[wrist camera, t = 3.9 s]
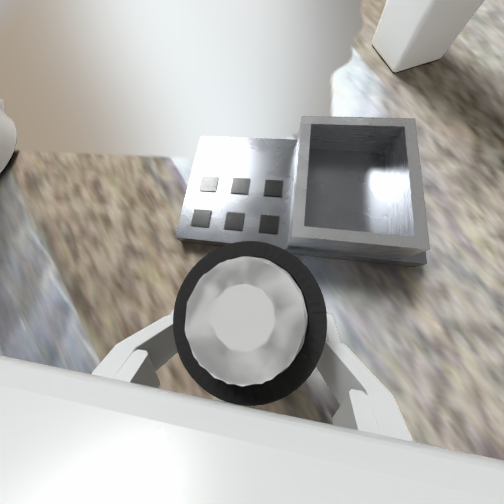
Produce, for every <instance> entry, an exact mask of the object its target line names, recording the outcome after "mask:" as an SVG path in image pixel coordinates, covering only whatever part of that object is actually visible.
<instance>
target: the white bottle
mask: <svg viewBox="0 0 504 504" xmlns="http://www.w3.org/2000/svg"><path fill="white" fill-rule="evenodd" d="M483 1H484V0H387V2H386V5H385V7H384V10H383V13H382V16H381V18H380V21H379V24H378V27H377V29H376V32H375V35H374V37H373V40H372V45H373V46H374V48H375V49H376V50H377V52H378V53H379V54H380V55H381V57H382V58H383V59H384V61H385V62H386V63H387V65H388V66H389V67H390V68H391V70H392V71H393V72H399V71H402V70H405V69H408V68H412V67H415V66H418V65H421V64H424V63H428V62H431V61H434V60H437V59H440V58H441V57H442V56H443V55H444V53H445V52H446V51H447V49H448V48H449V47H450V45H451V44H452V43H453V41H454V40H455V39H456V37H457V36H458V35H459V33H460V32H461V31H462V29H463V28H464V27H465V25H466V24H467V23H468V21H469V20H470V19H471V17H472V16H473V15H474V13H475V12H476V11H477V9H478V8H479V7H480V5H481V4H482V3H483Z"/></svg>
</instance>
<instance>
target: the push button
mask: <svg viewBox="0 0 504 504" xmlns="http://www.w3.org/2000/svg"><path fill="white" fill-rule="evenodd" d="M173 333H174V339H175V344H176V348H177V351H178V354H179V356H180V359H181V361H182V363H183V365H184V366H185V368H186V370H187V371H188V373H189V374H190V375H191V377H192V378H193V379H194V380H195V381H196V382H197V383H198V384H199V385H200V386H201V387H202V388H203V389H204V390H206V391H207V392H209V393H210V394H211V395H213V396H215V397H217V398H219V399H221V400H224V401H226V402H229V403H233V404H238V405H245V406H255V405H263V404H267V403H271V402H274V401H277V400H279V399H282V398H284V397H285V396H287V395H289V394H290V393H292V392H293V391H295V390H296V389H297V388H298V387H300V386H301V385H302V384H303V383H304V382H305V381H306V379H307V378H308V377H309V376H310V375H311V373H312V372H313V370H314V369H315V367H316V365H317V363H318V361H319V359H320V357H321V354H322V352H323V349H324V345H325V341H326V334H327V312H326V306H325V302H324V298H323V295H322V293H321V290H320V288H319V286H318V284H317V282H316V280H315V278H314V277H313V275H312V274H311V272H310V271H309V270H308V269H307V267H306V266H305V265H304V264H303V263H302V262H301V261H300V260H299V259H297V258H296V257H295V256H294V255H292V254H291V253H289V252H288V251H286V250H284V249H282V248H280V247H278V246H275V245H272V244H269V243H265V242H259V241H241V242H235V243H231V244H228V245H225V246H222V247H220V248H218V249H216V250H214V251H212V252H210V253H209V254H208V255H206V256H205V257H203V258H202V259H201V260H200V261H199V262H198V263H197V264H196V265H195V266H194V267H193V268H192V270H191V271H190V272H189V273H188V275H187V277H186V278H185V280H184V282H183V283H182V285H181V287H180V290H179V292H178V295H177V298H176V302H175V307H174V313H173Z"/></svg>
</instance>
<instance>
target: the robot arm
mask: <svg viewBox="0 0 504 504" xmlns="http://www.w3.org/2000/svg"><path fill="white" fill-rule="evenodd" d="M16 141H17V130H16V126H15V124H14V122H13V121H12V120H11V119H10V118H9V117H8V116H7V114H6V113H5V104H4V101H3V100H2V99H0V173H1V172H2V170H3V169H4V168H5V166H6V165H7V163H8V162H9V160H10V158H11V156H12V154H13V152H14V149H15V146H16ZM173 313H174V309H173V311H172V312H171V314H170V315H169V316H165V317H163V318H161V319H159V320H158V321H156V322H154V323H153V324H151V325H149V326H147V327H146V328H144V329H142V330H140V331H139V332H137V333H135V334H133V335H132V336H130V337H128V338H126V339H125V340H123V341H121V342H120V343H118V344H116V345H115V347H114V348H113V349H112V350H111V351H110V352H109V354H108V355H107V356H106V357H105V358H104V359H103V361H102V362H101V363H100V364H99V365H98V366H97V368H96V369H95V370H94V371H93V372H92V373H91V374H88V373H83V372H79V371H74V370H69V369H64V368H60V367H55V366H50V365H45V364H40V363H36V362H31V361H26V360H21V359H16V358H12V357H7V356H2V355H0V504H504V461H503V460H499V459H494V458H489V457H484V456H479V455H475V454H470V453H465V452H460V451H456V450H451V449H446V448H441V447H437V446H432V445H427V444H422V443H417V442H413V440H412V438H411V435H410V433H409V431H408V428H407V426H406V424H405V421H404V419H403V417H402V415H401V412H400V410H399V408H398V405H397V403H396V401H395V398H394V396H393V395H392V394H391V393H390V392H389V391H388V390H387V389H386V388H385V386H384V385H383V384H382V383H381V382H380V381H379V380H378V379H377V378H376V377H375V376H374V375H373V374H372V373H371V372H370V371H369V369H368V368H367V367H366V366H365V365H364V364H363V363H362V362H361V361H360V360H359V359H358V358H357V357H356V356H355V355H354V353H353V352H352V351H351V350H350V349H349V348H348V347H347V346H346V345H345V344H342V343H341V341H340V337H339V334H338V330H337V327H336V324H335V320H334V317H333V315H332V314H331V313H327V334H326V341H325V345H324V349H323V352H322V354H321V357H320V359H319V361H318V363H317V365H316V367H317V368H318V370H319V372H320V373H321V375H322V377H323V378H324V380H325V381H326V383H327V385H328V386H329V388H330V390H331V391H332V393H333V395H334V396H335V398H336V399H337V401H338V403H339V404H340V407H339V408H338V410H337V412H336V413H335V415H334V416H333V418H332V423H333V425H332V424H327V423H322V422H317V421H313V420H308V419H303V418H298V417H293V416H289V415H284V414H279V413H274V412H270V411H265V410H260V409H255V408H251V407H246V406H241V405H236V404H232V403H227V402H222V401H217V400H212V399H208V398H203V397H198V396H193V395H189V394H184V393H179V392H174V391H169V390H165V389H160V388H158V387H159V385H160V381H159V378H158V376H157V374H156V371H157V370H158V369H159V368H160V367H161V366H162V365H163V364H165V363H166V362H167V361H168V360H169V359H170V358H171V357H173V356H174V355H175V354H176V353H177V352H178V351H177V348H176V344H175V339H174V333H173Z"/></svg>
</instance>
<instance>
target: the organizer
mask: <svg viewBox="0 0 504 504" xmlns="http://www.w3.org/2000/svg"><path fill="white" fill-rule="evenodd" d="M175 238H177V239H178V240H180V241H181V242H190V243H199V244H208V245H217V246H225V245H228V244H231V243H235V242H241V241H259V242H265V243H269V244H272V245H275V246H278V247H280V248H282V249H284V250H286V251H288V252H289V253H291V254H300V255H310V256H319V257H328V258H337V259H346V260H356V261H365V262H374V263H383V264H392V265H402V266H411V267H416V266H420V265H424V264H427V260H426V251H427V250H430V245H429V236H428V227H427V219H426V210H425V201H424V192H423V184H422V175H421V166H420V157H419V149H418V140H417V131H416V122H415V119H411V118H367V117H324V116H321V117H320V116H302V118H301V123H300V129H299V134H298V139H297V140H289V139H263V138H236V137H233V138H232V137H209V136H201V137H200V141H199V145H198V149H197V153H196V157H195V161H194V165H193V168H192V172H191V176H190V180H189V184H188V188H187V192H186V196H185V200H184V203H183V207H182V211H181V215H180V219H179V223H178V227H177V231H176V235H175Z"/></svg>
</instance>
